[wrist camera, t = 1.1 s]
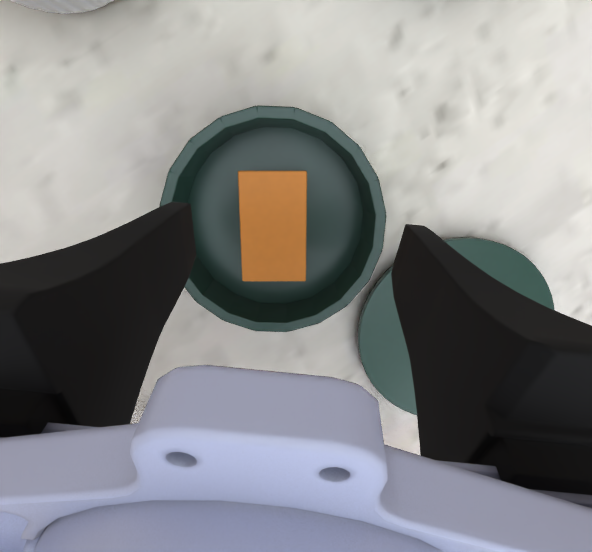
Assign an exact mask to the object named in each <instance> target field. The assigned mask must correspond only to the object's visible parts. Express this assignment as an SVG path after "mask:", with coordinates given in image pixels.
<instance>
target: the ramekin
mask: <svg viewBox="0 0 592 552" xmlns="http://www.w3.org/2000/svg"><path fill="white" fill-rule="evenodd" d="M9 1H12V2H15V3H18V4H20V5H23V6H25V7H28V8H31V9H37V10H42V11H45V12H49V13H55V12H57V13H60V14H69V13H82V12H86V11H93V10H95V9H97V8H100V7H103V6H105V5H106V4H107V3H109V2H112V1H114V0H9Z"/></svg>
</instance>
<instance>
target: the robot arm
mask: <svg viewBox="0 0 592 552" xmlns="http://www.w3.org/2000/svg"><path fill="white" fill-rule="evenodd" d="M195 257H196V247H195V238H194V229H193V221H192V212H191V204H190V203H180V202H170V203H168V204H165V205H163V206H161V207H159V208H157V209H155V210H153V211H151V212H149V213H147V214H145V215H143V216H141V217H139V218H137V219H135V220H133V221H131V222H129V223H127V224H125V225H122V226H120V227H118V228H116V229H114V230H111V231H109V232H107V233H105V234H102V235H100V236H98V237H95V238H93V239H90V240H87V241H84V242H82V243H79V244H76V245H73V246H70V247H67V248H64V249H60V250H56V251H53V252H49V253H45V254H42V255H38V256H34V257H30V258H26V259H21V260H17V261H12V262H7V263H2V264H0V552H592V326H591V325H588V324H586V323H583V322H581V321H578V320H576V319H573V318H571V317H568V316H566V315H564V314H561V313H559V312H557V311H555V310H552V309H550V308H548V307H546V306H544V305H542V304H540V303H538V302H536V301H534V300H532V299H530V298H528V297H526V296H524V295H522V294H520V293H518V292H516V291H515V290H513V289H511V288H510V287H508V286H506V285H504V284H503V283H501V282H499V281H498V280H496V279H495V278H493V277H491V276H490V275H488V274H487V273H486V272H484V271H483V270H481V269H480V268H478V267H477V266H476V265H474V264H473V263H471V262H470V261H469V260H467V259H466V258H465V257H464V256H462V255H461V254H460V253H458V252H457V251H456V250H455V249H453V248H452V247H451V246H450V245H448V244H447V243H446V242H445V241H444V240H442V239H441V238H440V237H439V236H437V235H436V234H435V233H434V232H432V231H431V230H430V229H428V228H427V227H425V226H420V225H409V224H406V225H405V228H404V232H403V235H402V238H401V242H400V245H399V249H398V252H397V255H396V259H395V262H394V265H393V269H392V272H391V277H392V288H393V296H394V301H395V305H396V308H397V312H398V316H399V320H400V324H401V327H402V331H403V335H404V338H405V342H406V346H407V349H408V354H409V358H410V364H411V371H412V378H413V385H414V392H415V401H416V409H417V418H418V429H419V440H420V452H421V456H420V455H417V454H413V453H410V452H407V451H404V450H400V449H397V448H394V447H391V446H387V445H384V441H383V434H382V426H381V419H380V412H379V404H378V400H377V399H376V398H374V397H373V396H372V395H371V394H370V393H369V392H368V391H366V390H365V389H364V388H363V387H362V386H360V385H358V384H355V383H352V382H348V381H345V380H341V379H337V378H334V377H326V376H315V375H305V374H295V373H285V372H274V371H264V370H254V369H243V368H233V367H223V366H213V365H198V366H185V367H178V368H175V369H173V370H172V371H170V372H169V373H167V374H165V375H164V376H162V377H161V378H159V379H158V380H157V382H156V385H155V387H154V389H153V392H152V394H151V396H150V398H149V401H148V403H147V405H146V408H145V410H144V412H143V414H142V417H141V419H140V421H139V423H135V424H130V422H131V418H132V415H133V412H134V408H135V405H136V402H137V399H138V396H139V392H140V389H141V386H142V383H143V380H144V377H145V374H146V371H147V369H148V366H149V363H150V360H151V357H152V355H153V352H154V349H155V346H156V344H157V341H158V338H159V336H160V334H161V332H162V329H163V327H164V325H165V323H166V321H167V319H168V317H169V316H170V314H171V312H172V310H173V308H174V306H175V304H176V302H177V300H178V298H179V296H180V294H181V292H182V290H183V288H184V286H185V284H186V282H187V280H188V278H189V276H190V273H191V270H192V267H193V264H194V260H195Z"/></svg>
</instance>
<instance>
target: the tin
mask: <svg viewBox="0 0 592 552" xmlns="http://www.w3.org/2000/svg"><path fill="white" fill-rule="evenodd" d="M238 171H307V225H306V281H242V264H241V239H240V213H239V188H238ZM170 202H180V203H190V204H191V212H192V221H193V229H194V238H195V247H196V257H195V260H194V264H193V267H192V270H191V273H190V276H189V278H188V280H187V282H186V284H185V286H184V287H185V288H186V290H187V291H188V292H189V293H190V295H191V296H192V297H193V298H194V300H195V301H196V302H197V303H199V304H200V305H201V306H203V307H204V308H206V309H207V310H209V311H210V312H212V313H213V314H214V315H216V316H217V317H219V318H220V319H222V320H224V321H226V322H229V323H233V324H236V325H239V326H242V327H245V328H248V329H251V330H255V331H274V332H287V331H292V330H296V329H300V328H303V327H307V326H311V325H315V324H318V323H320V322H322V321H324V320H325V319H327V318H328V317H330V316H332V315H333V314H335V313H336V312H338V311H340V310H341V309H343V308H344V307H346V306H347V305H348V304H349V303H350V302H351V301H352V300H353V299H354V297H355V296H356V295H357V294H358V293H359V292H360V290H361V289H362V288H363V287H364V286H365V285H366V284H367V282H368V281H369V280H370V277H371V275H372V273H373V270H374V268H375V266H376V264H377V261H378V259H379V257H380V254H381V252H382V249H383V242H384V232H385V223H386V210H385V206H384V201H383V196H382V192H381V187H380V183H379V179H378V177H377V175H376V173H375V171H374V170H373V168H372V166H371V165H370V163H369V161H368V160H367V158H366V156H365V154H364V153H363V151H362V149H361V148H360V147H359V145H358V144H356V143H355V142H354V141H353V140H352V139H351V138H349V137H348V136H347V135H346V134H345V133H344V132H343V131H341V130H340V129H339V128H338V127H337V126H336V125H334V124H333V123H332V122H330V121H329V120H326V119H324V118H321V117H319V116H316V115H314V114H311V113H309V112H306V111H304V110H301V109H299V108H295V107H280V106H253V107H250V108H247V109H244V110H240V111H237V112H234V113H231V114H227V115H224V116H221V117H220V118H218V119H216V120H215V121H214V122H212V123H211V124H210V125H208V126H207V127H206V128H204V129H203V130H202V131H200V132H199V133H198V134H196V135H195V136H194V137H192V138H191V139H190V140H189V141H188V143H187V144H186V146H185V147H184V149H183V150H182V152H181V153H180V155H179V156H178V158H177V159H176V161H175V162H174V164H173V165H172V167H171V168H170V170H169V172H168V175H167V179H166V183H165V187H164V191H163V194H162V198H161V202H160V207H161V206H163V205H165V204H168V203H170Z"/></svg>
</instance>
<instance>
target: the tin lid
mask: <svg viewBox="0 0 592 552" xmlns="http://www.w3.org/2000/svg"><path fill="white" fill-rule="evenodd" d="M444 241H445V242H446V243H447V244H448V245H450V246H451V247H452V248H453V249H455V250H456V251H457V252H458V253H460V254H461V255H462V256H464V257H465V258H466V259H467V260H469V261H470V262H471V263H473V264H474V265H476V266H477V267H478V268H480V269H481V270H483V271H484V272H486V273H487V274H488V275H490V276H491V277H493V278H495V279H496V280H498V281H499V282H501V283H503V284H504V285H506V286H508V287H510V288H511V289H513V290H515V291H516V292H518V293H520V294H522V295H524V296H526V297H528V298H530V299H532V300H534V301H536V302H538V303H540V304H542V305H544V306H546V307H548V308H550V309H552V310H554V304H553V299H552V295H551V292H550V290H549V287H548V285H547V283H546V281H545V279H544V277H543V276H542V274H541V273H540V272H539V270H538V269H537V268H536V266H535V265H534V264H533V263H532V262H530V261H529V260H528V259H527V258H526V257H525V256H523V255H522V254H520V253H519V252H517V251H516V250H514V249H512V248H510V247H508V246H506V245H503V244H500V243H497V242H494V241H490V240H486V239H480V238H464V237H461V238H452V239H446V240H444ZM392 269H393V266H392V267H391V268H389V269H388V270H387V271H386V273H385V274H384V275H383V276H382V277H381V278H380V279H379V280H378V282H377V283H376V285H375V286H374V288H373V289H372V291H371V292H370V294H369V296H368V298H367V300H366V302H365V305H364V308H363V310H362V313H361V317H360V322H359V328H358V347H359V353H360V357H361V361H362V364H363V366H364V369H365V372H366V374H367V375H368V377H369V379H370V381H371V383H372V384H373V385H374V386H375V388H376V389H377V390H378V392H380V393H381V394H382V395H383V396H384V397H385V398H386V399H387V400H388V401H390V402H391V403H392V404H394V405H395V406H397V407H399V408H401V409H403V410H404V411H407V412H410V413H412V414H415V415H417V409H416V401H415V392H414V385H413V378H412V371H411V364H410V358H409V354H408V349H407V346H406V342H405V338H404V335H403V331H402V327H401V324H400V320H399V316H398V312H397V308H396V305H395V301H394V296H393V288H392V277H391V272H392Z"/></svg>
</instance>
